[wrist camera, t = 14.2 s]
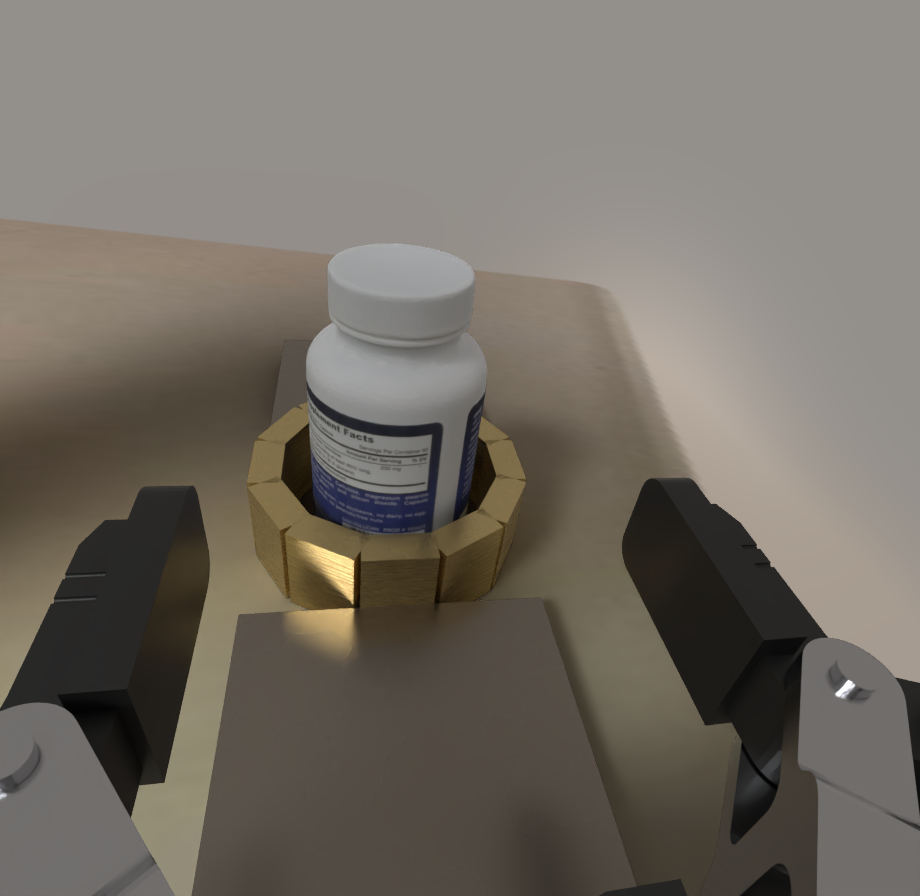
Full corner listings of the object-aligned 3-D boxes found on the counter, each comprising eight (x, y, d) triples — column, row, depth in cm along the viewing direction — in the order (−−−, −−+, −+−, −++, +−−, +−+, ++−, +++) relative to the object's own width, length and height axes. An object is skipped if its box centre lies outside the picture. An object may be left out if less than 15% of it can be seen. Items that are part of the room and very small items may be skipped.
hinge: (186, 1000, 11) (154, 954, 9) (286, 357, 31) (282, 302, 29) (630, 922, 13) (675, 871, 11) (455, 361, 32) (462, 310, 31)
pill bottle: (399, 462, 25) (414, 224, 19) (492, 535, 22) (543, 281, 16) (284, 517, 21) (259, 250, 16) (377, 611, 19) (389, 327, 13)
